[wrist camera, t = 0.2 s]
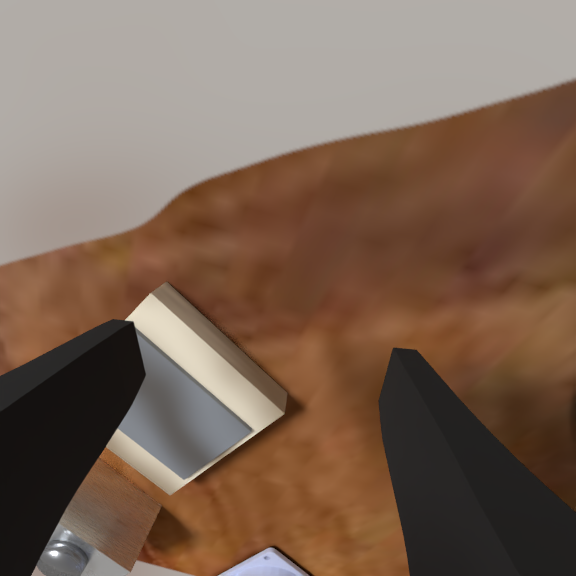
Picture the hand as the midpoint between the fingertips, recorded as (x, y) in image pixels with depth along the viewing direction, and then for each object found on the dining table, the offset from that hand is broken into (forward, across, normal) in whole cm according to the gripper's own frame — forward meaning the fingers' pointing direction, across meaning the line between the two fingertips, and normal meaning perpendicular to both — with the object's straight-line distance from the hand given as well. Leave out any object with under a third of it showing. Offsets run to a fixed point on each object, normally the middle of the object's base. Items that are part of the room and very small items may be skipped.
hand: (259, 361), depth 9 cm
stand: (+9, +8, +12) cm, 16 cm away
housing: (+7, +14, +23) cm, 28 cm away
